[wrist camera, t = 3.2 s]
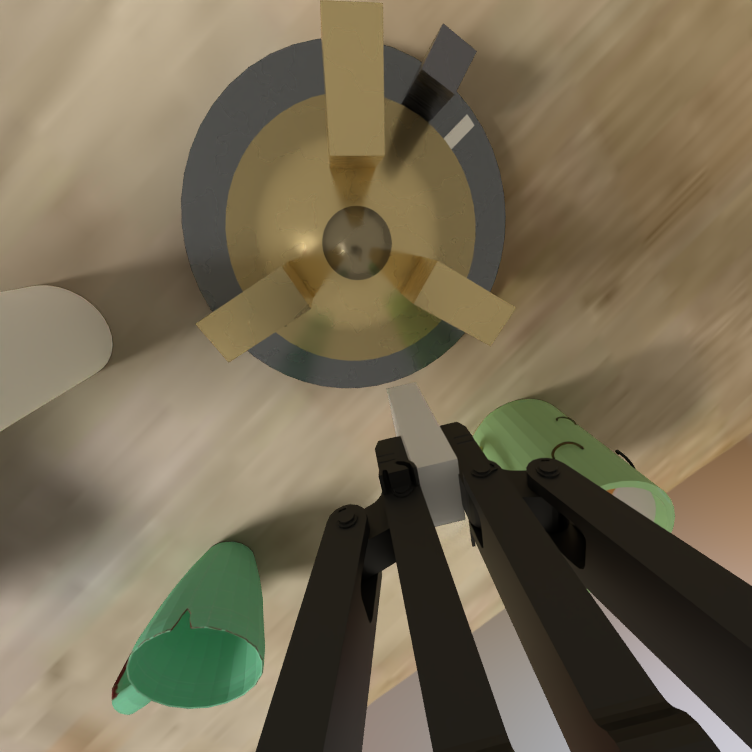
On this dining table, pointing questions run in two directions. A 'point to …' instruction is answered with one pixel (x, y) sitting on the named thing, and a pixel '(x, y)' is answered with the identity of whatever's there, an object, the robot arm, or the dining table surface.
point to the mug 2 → (568, 454)
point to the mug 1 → (200, 638)
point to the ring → (281, 91)
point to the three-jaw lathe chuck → (350, 218)
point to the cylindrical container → (46, 347)
